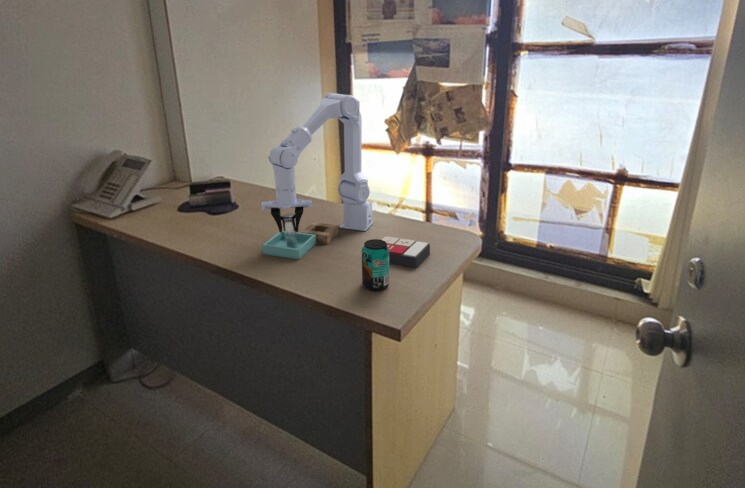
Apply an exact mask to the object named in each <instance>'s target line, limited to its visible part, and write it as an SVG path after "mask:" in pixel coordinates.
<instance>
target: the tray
mask: <svg viewBox="0 0 745 488" xmlns="http://www.w3.org/2000/svg"><path fill="white" fill-rule="evenodd" d="M296 233H297V240H298V244H297V245H294V246H287V245H286V241H285V234H284V229H282V233H280V232H279V231H278V232H277V233H276V234H275V235H273V236H272V237H271V238H270V239H268V240H267V241H266V242H264V243H263V244H262V245H261V247H262V254H263V255H266V256H272V257H273V256H274V257H279V258H285V259H286V258H287V259H292V260H294V259H295V260H300V259H302V258H303V257H304V256H305V255H306V254H307V253H308V252H309V251H311V249H312V248H313V247H315V245H317V244H318V243H317V242H316V235H314V234H306V233H301V232H299V231H298V232H296Z"/></svg>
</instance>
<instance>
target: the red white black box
mask: <svg viewBox="0 0 745 488" xmlns="http://www.w3.org/2000/svg"><path fill="white" fill-rule="evenodd" d="M381 240H383V241H385V242H386V243H387V247H388V248H389V264H395V265H400V266H403V267H406V268H412V269H418V268H419V267H420V266H421V264H423V263H424V261H426V259H427V258H428V257H429V256H430V255H431V243H429V242H424V241H416V240H413V239H408V238H407V239H405V238H399V237H395V236H394V237H393V236H384V237H383V238H381Z"/></svg>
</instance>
